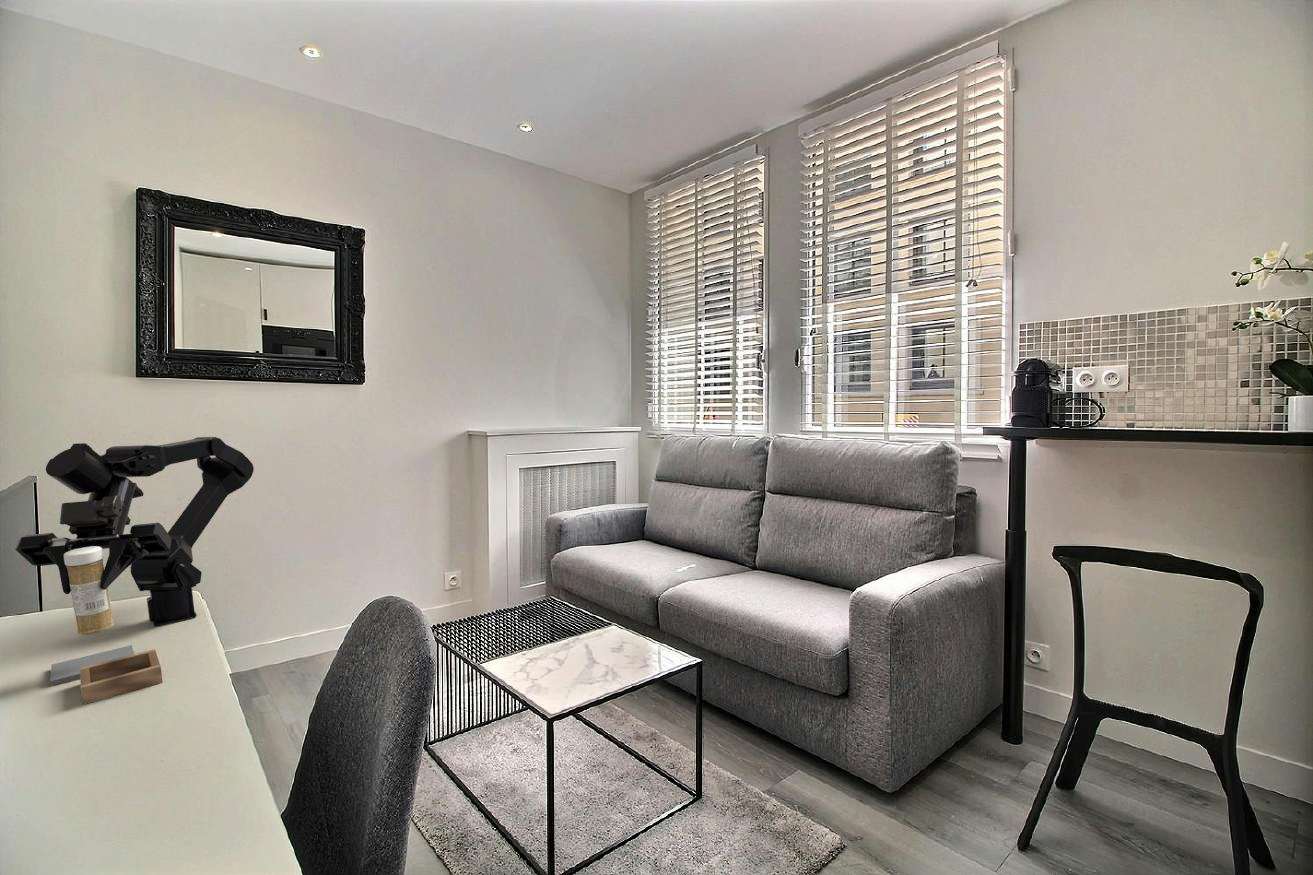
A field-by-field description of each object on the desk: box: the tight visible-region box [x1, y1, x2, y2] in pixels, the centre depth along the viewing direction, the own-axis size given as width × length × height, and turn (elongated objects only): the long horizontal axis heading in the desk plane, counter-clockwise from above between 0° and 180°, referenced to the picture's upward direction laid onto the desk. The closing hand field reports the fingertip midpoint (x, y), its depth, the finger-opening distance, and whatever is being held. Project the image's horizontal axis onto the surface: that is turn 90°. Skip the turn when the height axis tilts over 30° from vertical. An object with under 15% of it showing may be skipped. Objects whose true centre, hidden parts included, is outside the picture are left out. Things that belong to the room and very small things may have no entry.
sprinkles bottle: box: [64, 546, 115, 636], centre depth 101 cm, size 5×5×13 cm
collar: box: [79, 648, 164, 705], centre depth 96 cm, size 9×9×2 cm
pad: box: [49, 644, 135, 687], centre depth 102 cm, size 10×8×1 cm
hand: (84, 590), depth 99 cm, fingers closed on sprinkles bottle, 4 cm apart
